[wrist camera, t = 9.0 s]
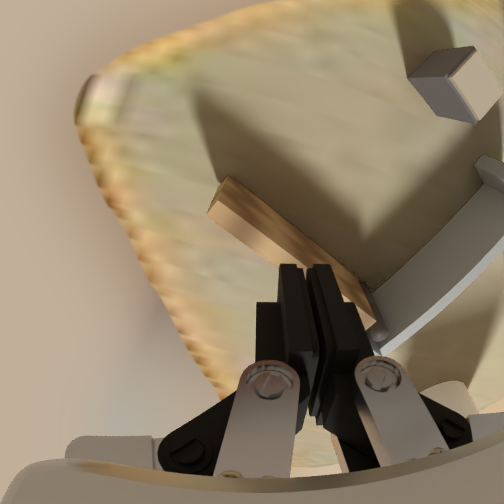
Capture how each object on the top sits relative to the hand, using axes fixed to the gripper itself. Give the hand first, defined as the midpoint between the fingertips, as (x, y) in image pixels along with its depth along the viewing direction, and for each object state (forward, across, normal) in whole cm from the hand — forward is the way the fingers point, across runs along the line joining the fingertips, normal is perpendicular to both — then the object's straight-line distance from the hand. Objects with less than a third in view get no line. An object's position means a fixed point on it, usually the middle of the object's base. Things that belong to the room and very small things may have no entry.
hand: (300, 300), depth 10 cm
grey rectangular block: (+21, -16, -10) cm, 28 cm away
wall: (+21, -17, +7) cm, 28 cm away
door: (+20, -3, +8) cm, 22 cm away
